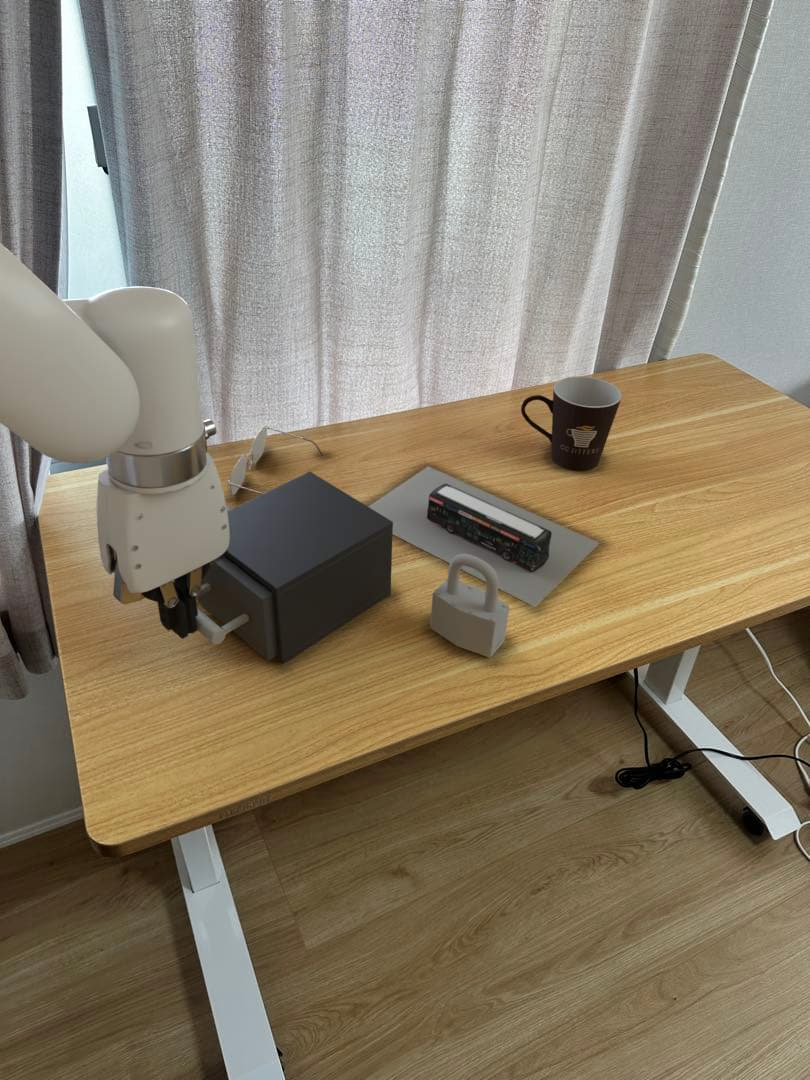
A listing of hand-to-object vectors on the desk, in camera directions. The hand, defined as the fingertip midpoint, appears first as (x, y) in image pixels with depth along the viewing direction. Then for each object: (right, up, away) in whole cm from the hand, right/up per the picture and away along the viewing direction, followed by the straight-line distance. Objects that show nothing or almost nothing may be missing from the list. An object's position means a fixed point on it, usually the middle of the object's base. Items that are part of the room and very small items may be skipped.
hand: (180, 627), depth 74 cm
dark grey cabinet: (+9, +2, +11) cm, 15 cm away
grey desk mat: (+29, +9, +22) cm, 37 cm away
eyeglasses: (+4, +16, +29) cm, 33 cm away
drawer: (+7, +1, +8) cm, 11 cm away
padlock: (+27, -2, +7) cm, 28 cm away
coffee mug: (+42, +19, +36) cm, 59 cm away
